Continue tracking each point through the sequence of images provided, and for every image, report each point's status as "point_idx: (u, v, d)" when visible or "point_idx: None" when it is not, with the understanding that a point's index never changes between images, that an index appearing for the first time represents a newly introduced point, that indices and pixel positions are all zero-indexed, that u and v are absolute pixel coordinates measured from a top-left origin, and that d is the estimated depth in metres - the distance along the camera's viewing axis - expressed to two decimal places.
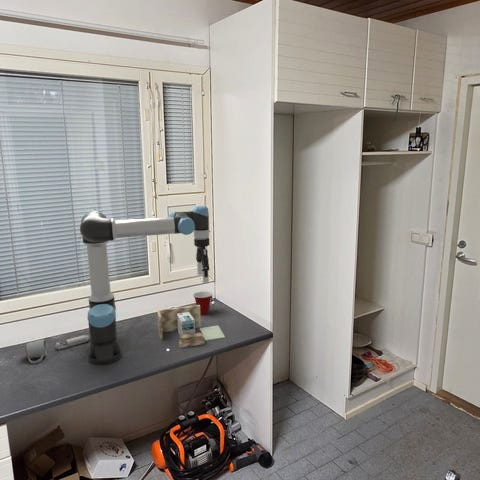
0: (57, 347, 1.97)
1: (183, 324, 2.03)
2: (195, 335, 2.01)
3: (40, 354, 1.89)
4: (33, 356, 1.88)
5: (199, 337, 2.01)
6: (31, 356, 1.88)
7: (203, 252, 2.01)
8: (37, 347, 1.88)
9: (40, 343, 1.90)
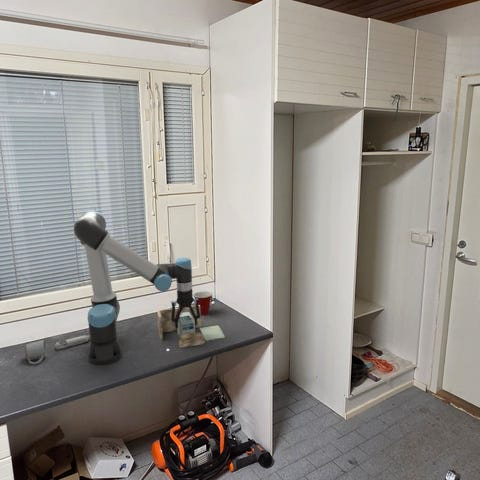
0: (57, 347, 1.97)
1: (183, 324, 2.03)
2: (195, 335, 2.01)
3: (40, 355, 1.88)
4: (33, 357, 1.87)
5: (199, 337, 2.01)
6: (31, 357, 1.87)
7: (171, 303, 2.05)
8: (37, 348, 1.87)
9: (40, 344, 1.89)
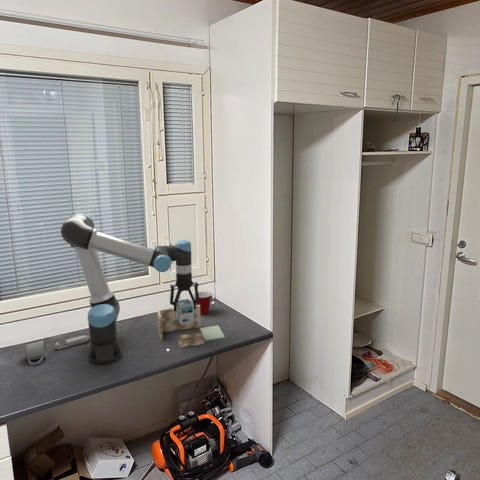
0: (56, 347, 1.97)
1: (182, 307, 2.01)
2: (195, 335, 2.01)
3: (40, 355, 1.88)
4: (33, 357, 1.87)
5: (199, 337, 2.01)
6: (30, 357, 1.86)
7: (170, 286, 2.03)
8: (37, 348, 1.87)
9: (40, 344, 1.88)
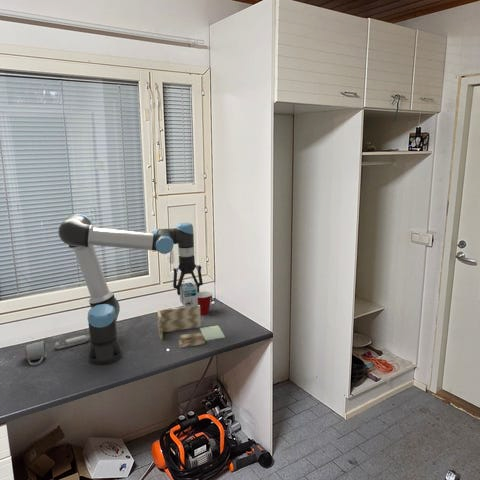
0: (56, 347, 1.97)
1: (185, 290, 1.99)
2: (195, 335, 2.01)
3: (40, 356, 1.87)
4: (33, 358, 1.87)
5: (199, 337, 2.01)
6: (30, 358, 1.86)
7: (173, 269, 2.02)
8: (37, 349, 1.87)
9: (40, 345, 1.88)
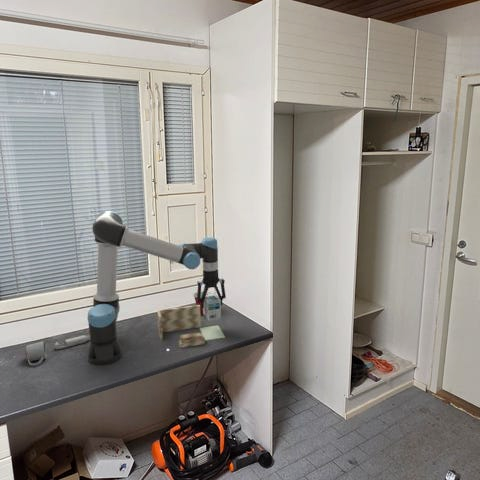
0: (56, 347, 1.97)
1: (209, 304, 2.04)
2: (195, 335, 2.01)
3: (40, 356, 1.87)
4: (33, 358, 1.86)
5: (199, 337, 2.01)
6: (30, 358, 1.86)
7: (197, 283, 2.06)
8: (37, 349, 1.86)
9: (40, 345, 1.88)
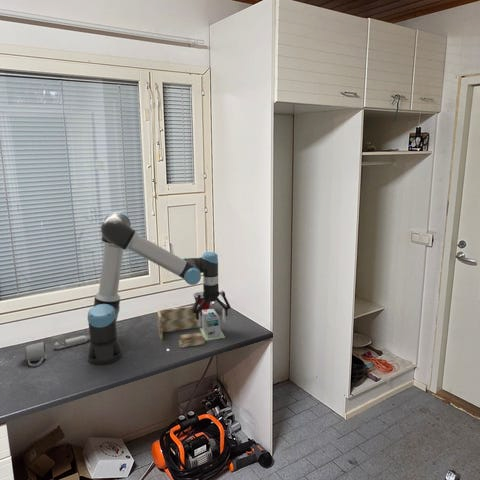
0: (56, 347, 1.97)
1: (208, 320, 2.06)
2: (195, 335, 2.01)
3: (40, 357, 1.86)
4: (33, 359, 1.86)
5: (199, 337, 2.01)
6: (30, 359, 1.85)
7: (197, 295, 2.07)
8: (36, 350, 1.86)
9: (40, 346, 1.87)
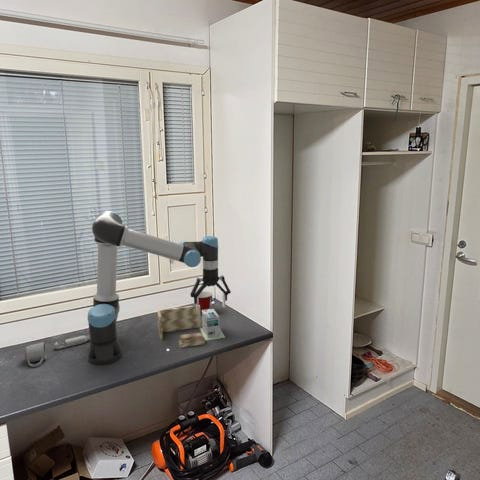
0: (55, 347, 1.97)
1: (208, 320, 2.06)
2: (195, 335, 2.01)
3: (40, 357, 1.86)
4: (33, 359, 1.85)
5: (199, 337, 2.01)
6: (30, 359, 1.85)
7: (196, 279, 2.05)
8: (36, 350, 1.85)
9: (40, 346, 1.87)
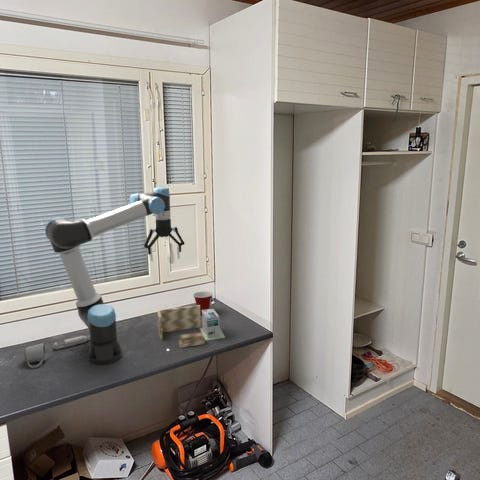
0: (55, 347, 1.97)
1: (208, 320, 2.06)
2: (195, 335, 2.01)
3: (39, 358, 1.85)
4: (32, 360, 1.85)
5: (199, 337, 2.01)
6: (30, 360, 1.84)
7: None
8: (36, 351, 1.85)
9: (39, 347, 1.86)
